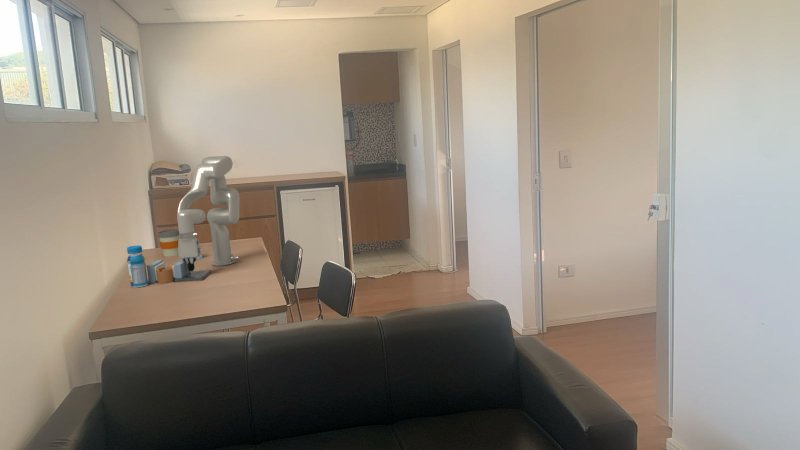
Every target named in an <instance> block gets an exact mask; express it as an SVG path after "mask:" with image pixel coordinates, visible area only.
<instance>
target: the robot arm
mask: <svg viewBox="0 0 800 450" xmlns="http://www.w3.org/2000/svg"><path fill="white" fill-rule="evenodd" d="M233 163H234V162H233V160H232V158H231V157H230V156H228V155H224V156H223V155H219V156H218V155H216V156H215V155H214V156H207V157H203V158H202V160H201V164H197V165H196V167H195V169H194V172H193V176H192V182H191V186H190V187H191V188H190V190H188V192H187V193H186V194H184V195H183V197H182V198H181V200H180V201H179V204H178V207H177V214H176V219H177V227H178V230H179V241H178V253H179V255H178V257H179V261H180V260H181V261H184V262H186V264H187V266H188V270H189V271H195V262H196V261H197V260H200V258H201V257H200V254H201V255H202V253H201V249H200V247H201V246H200V243H199V242H200V241H199V240H198V237H196V236H198V232H196V231H195V225H197V224H202V223H204V221H205V220H206V217H207V222H208V225H209V227H210V233H211V234H210V235H211V242H212V243H211V245H212V252H213V260H214V261H212V262H211V265H212V266H215V267H219V266H229V265H231V264H234V263H235V262H236V261H237V260H240V256H238V255H235V256H234V254H233V253H232V249H231V240H230V232H229V229H228V227H227V226H228V225H229V226H234V225H236V224H238V222H239V220H240V202H241V201H240V200H241V199H240V193H239V191H238V190H237V189H236V188H234V187H227V179H226V177H225V175H226V174H227V173H229V172H230V171H231V170H232V168H233V167H234V166H233ZM209 186H210V203H211V204H212V205H214V206H227V207H214V208H210V209H209V210H208V212H207V214H206V212H205V211H204V210H202V209H200V208H199V209H197V208H192V209H189V208H190V206H191V205H193V204H192V203H194V202H196V201H198V200H200V199H201V198H203V197H205V196H206V195H207V194H208V191H209ZM226 225H227V226H226ZM195 257H196V258H195ZM189 258H191V261H190V259H189Z"/></svg>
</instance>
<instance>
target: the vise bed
mask: <svg viewBox="0 0 800 450" xmlns="http://www.w3.org/2000/svg"><path fill="white" fill-rule="evenodd" d="M210 274H212V270H208V269H206V270H193V271H190V273H188V274H187V275H185V276H184V277H183V278H176V279H175V281H174V283H181V282H182V283H184V282H199V281H203V280H204V279H206V278H207V277H208V276H209V275H210Z"/></svg>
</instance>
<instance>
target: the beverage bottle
mask: <svg viewBox="0 0 800 450" xmlns="http://www.w3.org/2000/svg"><path fill="white" fill-rule="evenodd" d="M126 251H127V254H128V257H127V259H126V263H127V269H128V275H129V276H128V277H129V283H130V287H131V288H132V289H135V288H144V287H146V286H148V285H149V280H148V272H147V263H146V262H145V260H146V258H145V256H144V255H143V254H142V253H143V247H142V245H138V244H137V245H132V246H130V245H129V246H127V247H126Z"/></svg>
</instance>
